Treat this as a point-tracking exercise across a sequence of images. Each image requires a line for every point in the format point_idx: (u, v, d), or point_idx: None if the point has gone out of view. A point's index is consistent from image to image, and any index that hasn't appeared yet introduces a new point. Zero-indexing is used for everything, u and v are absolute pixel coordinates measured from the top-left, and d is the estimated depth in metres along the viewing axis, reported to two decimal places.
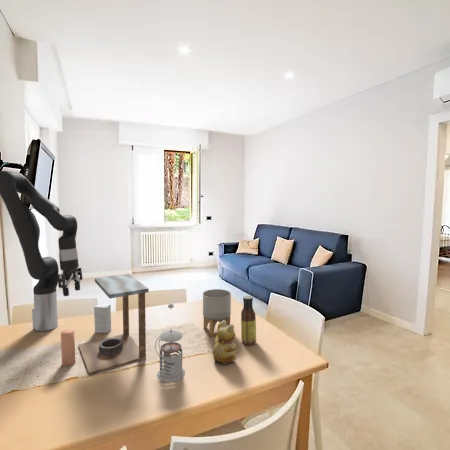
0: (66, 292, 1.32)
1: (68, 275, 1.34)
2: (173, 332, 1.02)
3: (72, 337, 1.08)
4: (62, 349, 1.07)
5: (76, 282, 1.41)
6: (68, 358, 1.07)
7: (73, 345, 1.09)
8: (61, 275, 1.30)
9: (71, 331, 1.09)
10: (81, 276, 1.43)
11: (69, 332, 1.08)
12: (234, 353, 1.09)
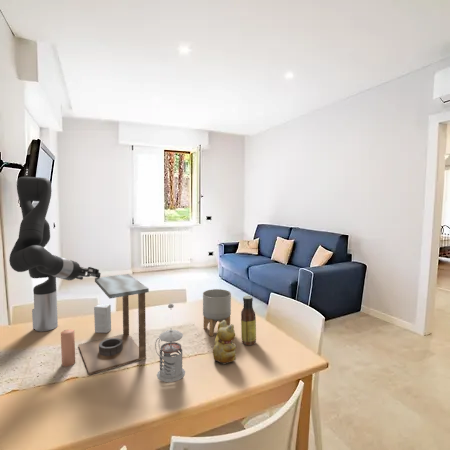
0: None
1: None
2: (173, 332, 1.02)
3: (72, 337, 1.08)
4: (62, 349, 1.07)
5: None
6: (68, 358, 1.07)
7: (73, 345, 1.09)
8: None
9: (71, 331, 1.09)
10: (95, 275, 1.20)
11: (69, 332, 1.08)
12: (234, 353, 1.09)
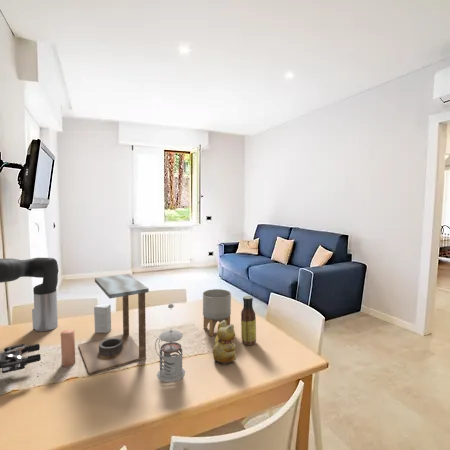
0: None
1: None
2: (173, 332, 1.02)
3: (72, 337, 1.08)
4: (62, 349, 1.07)
5: None
6: (68, 358, 1.07)
7: (73, 345, 1.09)
8: None
9: (71, 331, 1.09)
10: None
11: (69, 332, 1.08)
12: (234, 353, 1.09)
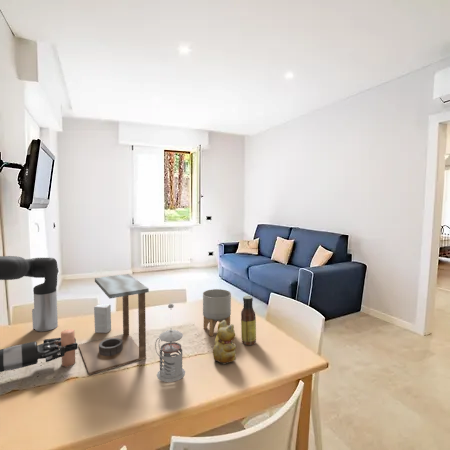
0: None
1: None
2: (173, 332, 1.02)
3: (72, 337, 1.08)
4: None
5: None
6: (68, 358, 1.07)
7: None
8: None
9: (71, 331, 1.09)
10: (59, 356, 1.03)
11: (69, 332, 1.08)
12: (234, 353, 1.09)
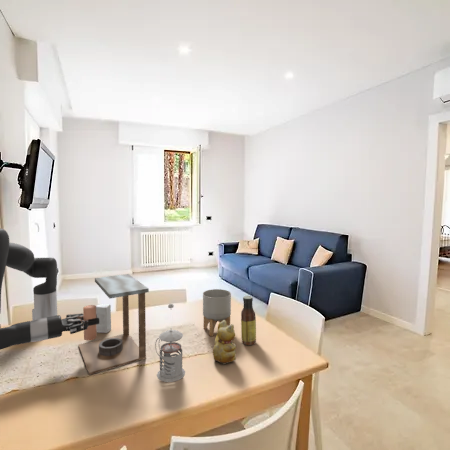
0: None
1: None
2: (173, 332, 1.02)
3: (94, 312, 1.12)
4: None
5: None
6: (90, 332, 1.11)
7: None
8: None
9: (93, 306, 1.12)
10: (82, 329, 1.07)
11: (91, 307, 1.12)
12: (234, 353, 1.09)
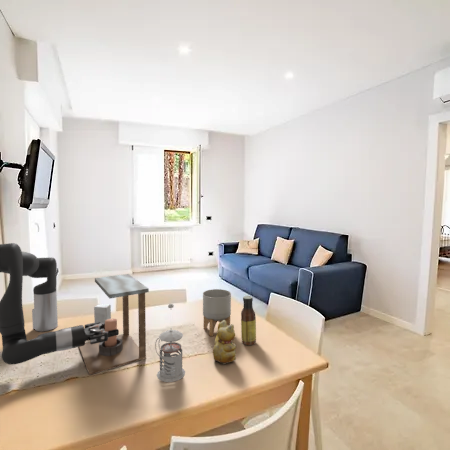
0: None
1: None
2: (173, 332, 1.02)
3: (115, 326, 1.16)
4: None
5: None
6: (111, 345, 1.16)
7: None
8: None
9: (114, 320, 1.17)
10: None
11: (112, 321, 1.16)
12: (234, 353, 1.09)
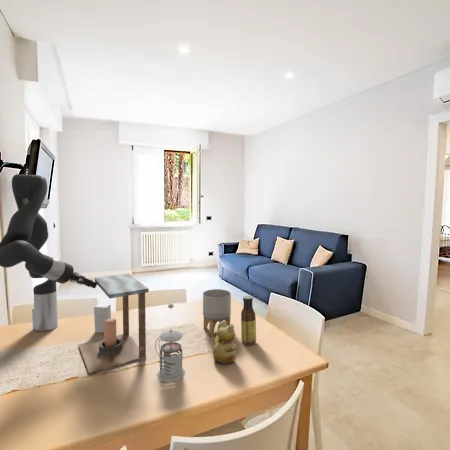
0: None
1: None
2: (173, 332, 1.02)
3: (114, 326, 1.16)
4: (105, 337, 1.15)
5: None
6: (111, 345, 1.16)
7: (115, 333, 1.17)
8: None
9: (113, 320, 1.17)
10: (86, 285, 1.14)
11: (112, 321, 1.16)
12: (234, 353, 1.09)
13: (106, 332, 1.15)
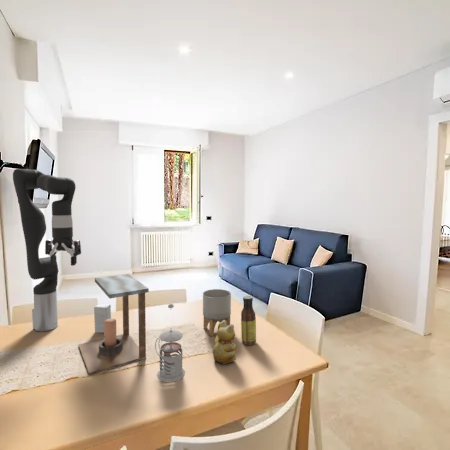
0: (51, 260, 1.23)
1: (54, 243, 1.22)
2: (173, 332, 1.02)
3: (114, 326, 1.16)
4: (105, 337, 1.15)
5: None
6: (111, 345, 1.16)
7: (115, 333, 1.17)
8: None
9: (113, 320, 1.17)
10: (76, 251, 1.21)
11: (112, 321, 1.16)
12: (234, 353, 1.09)
13: (106, 332, 1.15)
